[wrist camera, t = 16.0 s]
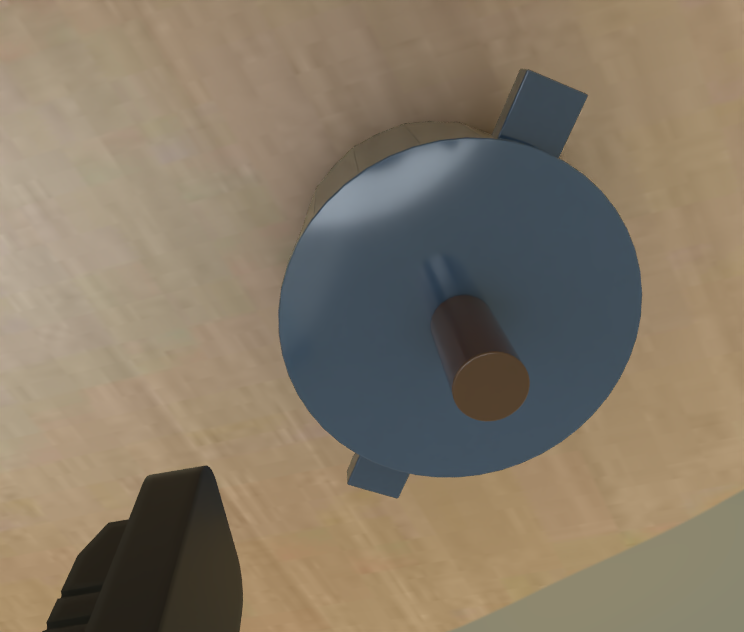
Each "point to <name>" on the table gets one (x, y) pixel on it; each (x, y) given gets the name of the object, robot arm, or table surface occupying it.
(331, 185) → the cooking pot
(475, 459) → the pot lid
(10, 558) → the table surface
